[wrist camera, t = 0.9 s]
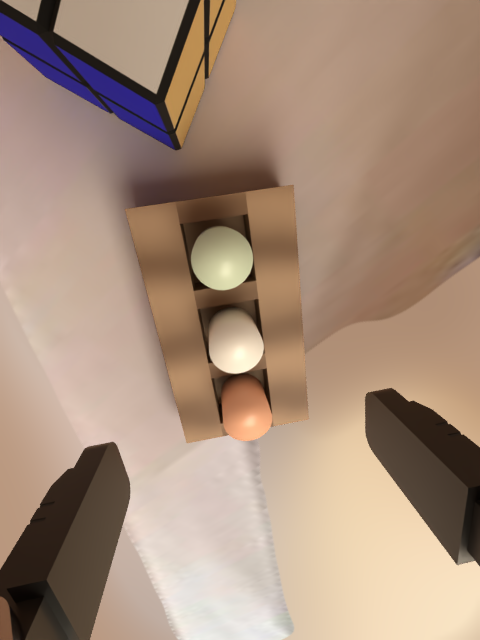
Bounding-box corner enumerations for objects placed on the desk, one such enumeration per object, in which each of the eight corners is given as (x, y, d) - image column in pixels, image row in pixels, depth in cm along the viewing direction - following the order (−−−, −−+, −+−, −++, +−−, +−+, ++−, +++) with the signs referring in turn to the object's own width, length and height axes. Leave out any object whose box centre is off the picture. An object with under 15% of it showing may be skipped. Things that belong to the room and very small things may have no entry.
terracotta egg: (217, 378, 26) (219, 405, 22) (260, 370, 26) (269, 395, 22) (224, 413, 27) (227, 444, 23) (265, 405, 27) (274, 435, 24)
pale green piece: (188, 230, 21) (185, 232, 17) (241, 222, 21) (248, 222, 18) (198, 281, 23) (197, 294, 19) (248, 273, 23) (256, 284, 19)
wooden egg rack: (136, 210, 23) (124, 209, 20) (281, 189, 24) (293, 184, 20) (188, 418, 30) (186, 443, 27) (297, 398, 31) (308, 419, 28)
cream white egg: (204, 311, 23) (204, 329, 20) (251, 303, 24) (260, 319, 20) (212, 353, 25) (214, 377, 21) (257, 345, 25) (266, 368, 21)
